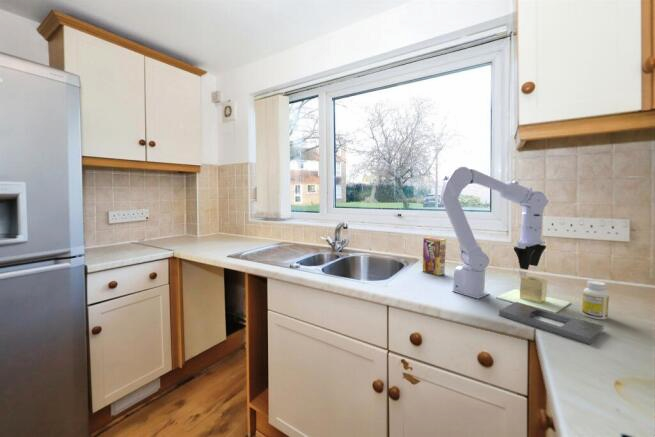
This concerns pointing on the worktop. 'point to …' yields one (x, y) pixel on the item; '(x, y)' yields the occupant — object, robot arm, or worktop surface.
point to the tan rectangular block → (533, 289)
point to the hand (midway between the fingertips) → (528, 267)
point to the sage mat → (549, 304)
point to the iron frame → (571, 329)
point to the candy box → (434, 255)
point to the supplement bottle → (595, 300)
